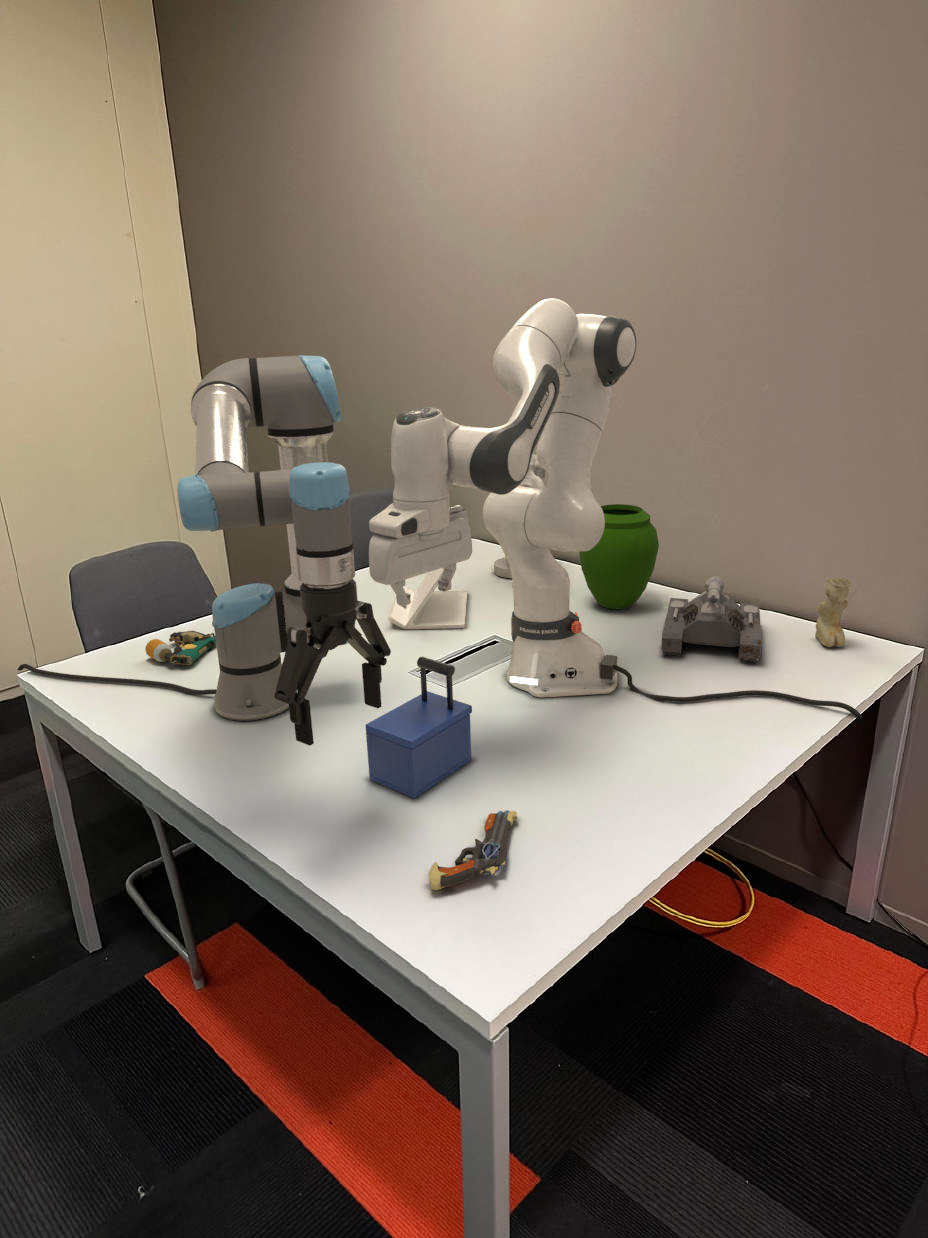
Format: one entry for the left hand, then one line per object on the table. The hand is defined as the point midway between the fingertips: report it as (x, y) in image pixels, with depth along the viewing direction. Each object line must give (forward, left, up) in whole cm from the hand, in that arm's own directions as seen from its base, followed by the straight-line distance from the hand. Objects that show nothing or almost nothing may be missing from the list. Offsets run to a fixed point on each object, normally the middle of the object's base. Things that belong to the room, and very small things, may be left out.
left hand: (340, 723), depth 122 cm
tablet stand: (-50, +78, -17) cm, 94 cm away
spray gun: (-78, +26, -17) cm, 84 cm away
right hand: (-5, +26, +10) cm, 28 cm away
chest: (-2, +19, -17) cm, 25 cm away
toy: (+15, +98, -17) cm, 101 cm away
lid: (-2, +19, -8) cm, 21 cm away
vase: (-14, +108, -17) cm, 110 cm away
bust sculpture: (-47, +115, -17) cm, 125 cm away
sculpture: (+36, +111, -17) cm, 118 cm away
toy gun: (+20, +5, -17) cm, 27 cm away
